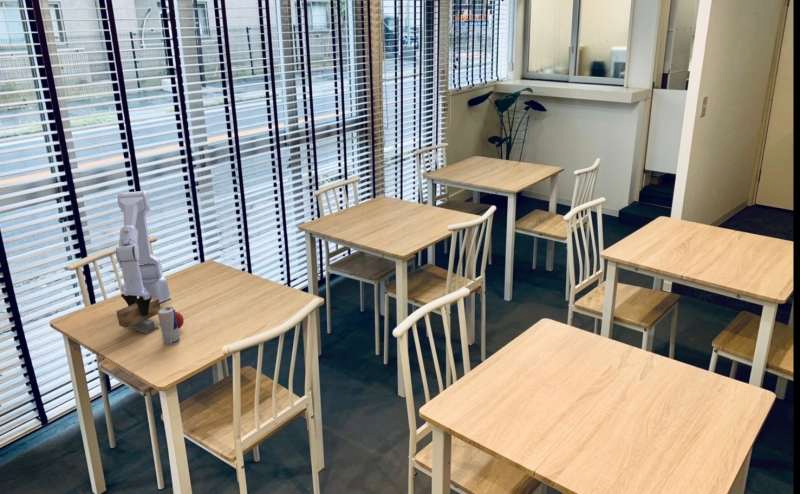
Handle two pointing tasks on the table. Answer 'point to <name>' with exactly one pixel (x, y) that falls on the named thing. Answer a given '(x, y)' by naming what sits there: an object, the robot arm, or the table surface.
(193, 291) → the table surface
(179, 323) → the onion
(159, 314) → the energy drink
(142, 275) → the robot arm
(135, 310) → the batten
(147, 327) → the ridge
